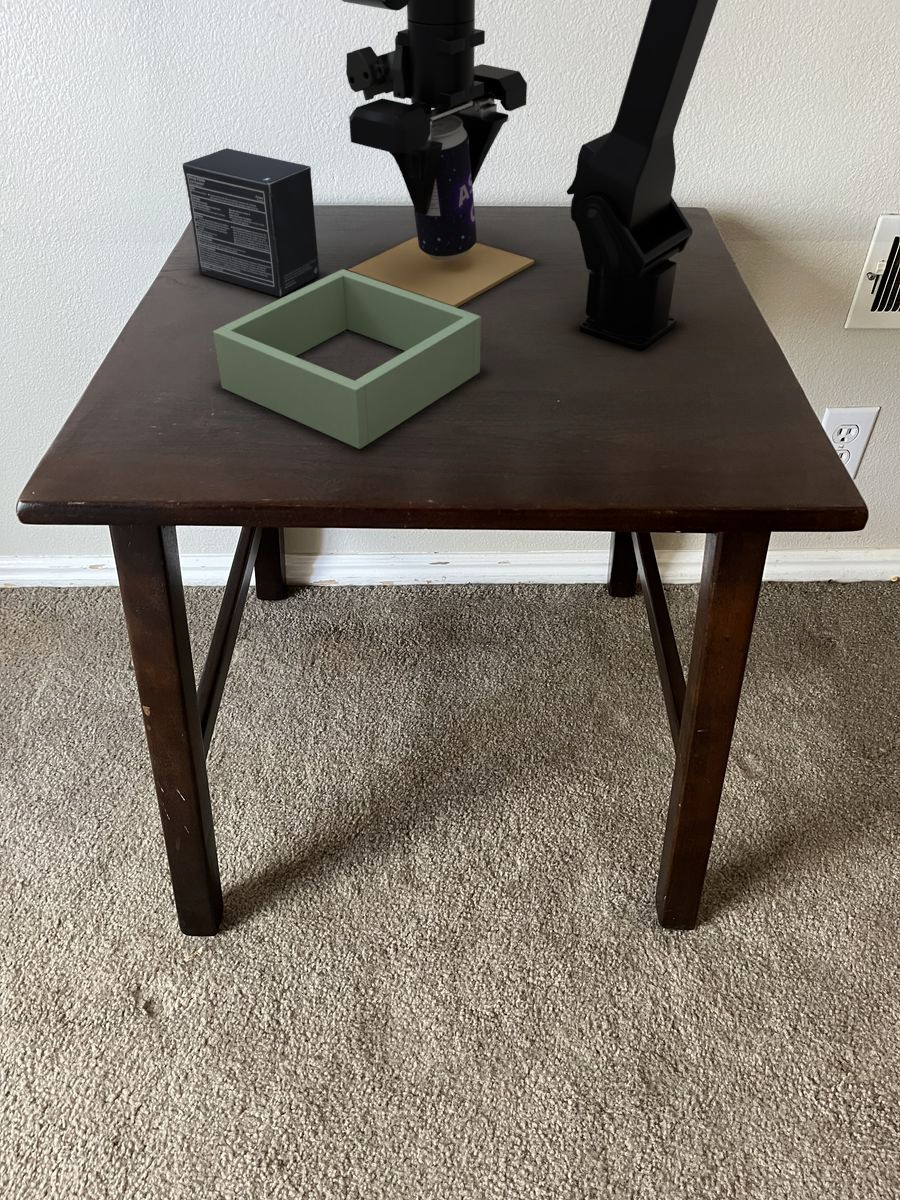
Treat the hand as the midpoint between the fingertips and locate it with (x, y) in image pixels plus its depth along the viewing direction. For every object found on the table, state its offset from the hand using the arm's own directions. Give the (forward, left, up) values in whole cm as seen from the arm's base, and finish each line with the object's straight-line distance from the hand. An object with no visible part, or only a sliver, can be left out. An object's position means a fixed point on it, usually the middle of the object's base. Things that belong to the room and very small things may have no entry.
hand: (442, 204), depth 98 cm
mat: (0, 0, -6) cm, 6 cm away
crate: (-8, +22, -6) cm, 24 cm away
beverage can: (0, -1, -5) cm, 5 cm away
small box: (+13, +12, -7) cm, 19 cm away
